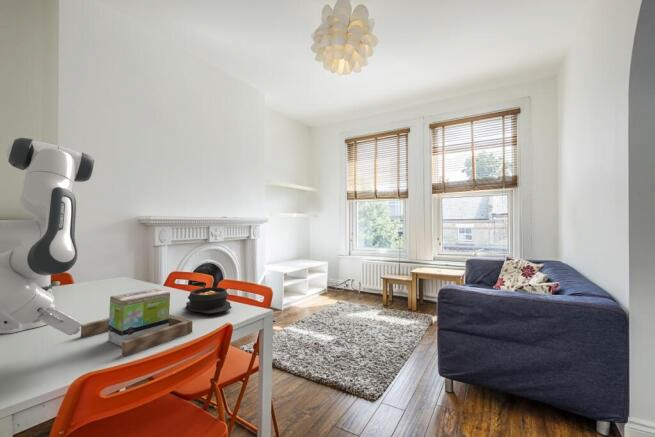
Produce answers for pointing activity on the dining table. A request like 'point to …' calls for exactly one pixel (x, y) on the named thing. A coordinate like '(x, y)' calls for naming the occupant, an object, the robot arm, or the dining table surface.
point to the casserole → (208, 300)
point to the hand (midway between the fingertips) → (76, 331)
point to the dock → (143, 341)
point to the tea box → (137, 314)
